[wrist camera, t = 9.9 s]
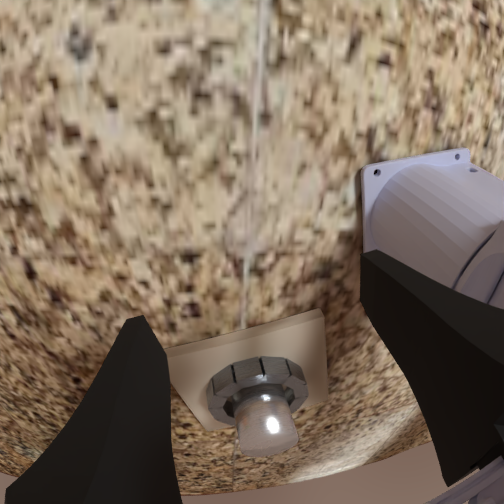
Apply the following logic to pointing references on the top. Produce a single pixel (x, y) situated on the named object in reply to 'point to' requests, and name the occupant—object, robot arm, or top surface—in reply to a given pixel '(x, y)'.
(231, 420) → the ring collar
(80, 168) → the top surface
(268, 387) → the cylinder
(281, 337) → the birch board
